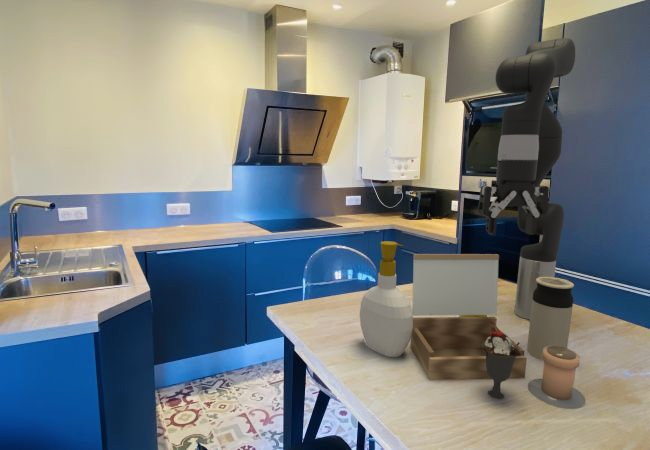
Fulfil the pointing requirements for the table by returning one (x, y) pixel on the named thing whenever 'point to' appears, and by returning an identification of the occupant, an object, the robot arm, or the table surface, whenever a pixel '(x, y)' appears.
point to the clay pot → (559, 372)
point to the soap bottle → (386, 310)
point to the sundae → (499, 359)
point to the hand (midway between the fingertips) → (510, 234)
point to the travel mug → (550, 315)
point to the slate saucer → (572, 403)
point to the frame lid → (455, 284)
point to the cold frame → (456, 347)
